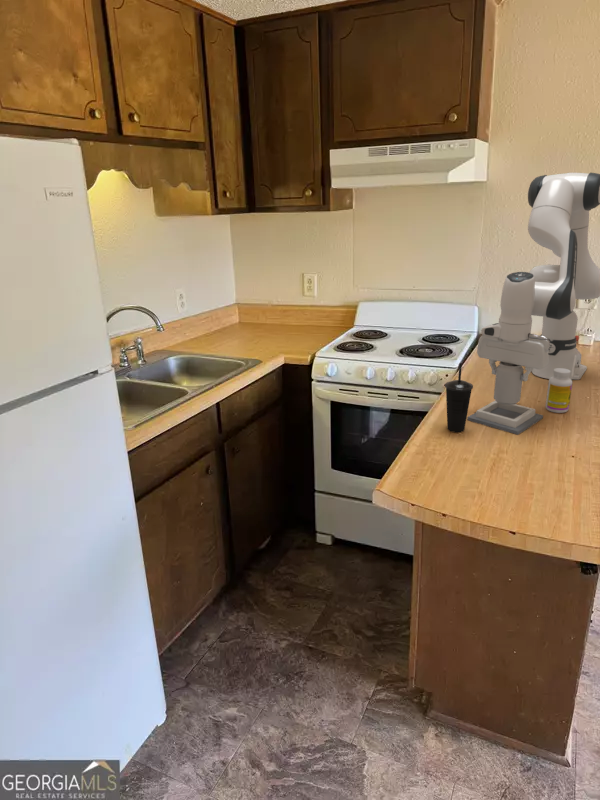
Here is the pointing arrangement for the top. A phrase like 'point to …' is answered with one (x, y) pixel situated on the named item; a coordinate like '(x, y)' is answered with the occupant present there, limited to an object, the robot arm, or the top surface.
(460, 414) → the drinking cup
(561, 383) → the supplement bottle
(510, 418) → the grey flat square tray
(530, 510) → the top surface
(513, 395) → the can
